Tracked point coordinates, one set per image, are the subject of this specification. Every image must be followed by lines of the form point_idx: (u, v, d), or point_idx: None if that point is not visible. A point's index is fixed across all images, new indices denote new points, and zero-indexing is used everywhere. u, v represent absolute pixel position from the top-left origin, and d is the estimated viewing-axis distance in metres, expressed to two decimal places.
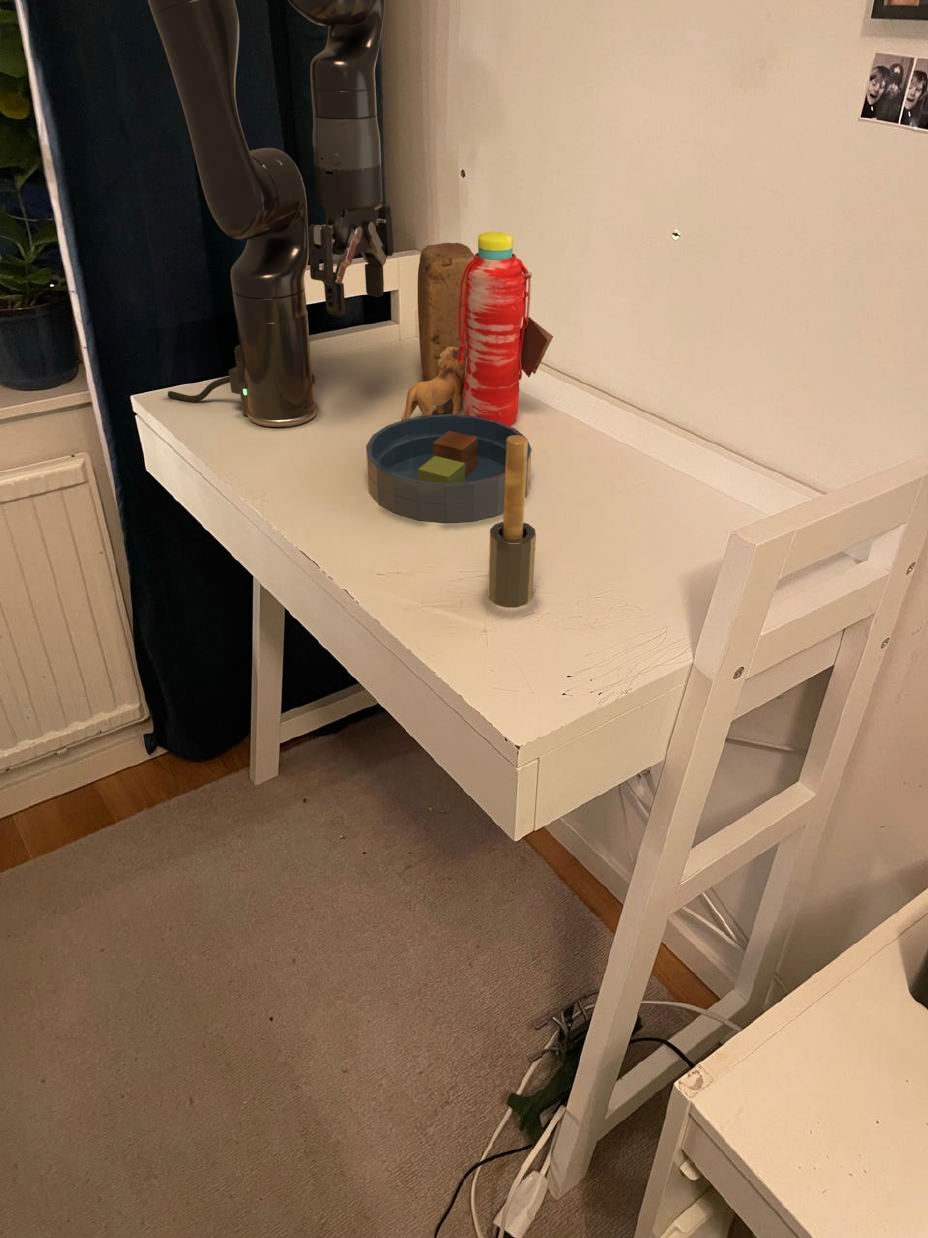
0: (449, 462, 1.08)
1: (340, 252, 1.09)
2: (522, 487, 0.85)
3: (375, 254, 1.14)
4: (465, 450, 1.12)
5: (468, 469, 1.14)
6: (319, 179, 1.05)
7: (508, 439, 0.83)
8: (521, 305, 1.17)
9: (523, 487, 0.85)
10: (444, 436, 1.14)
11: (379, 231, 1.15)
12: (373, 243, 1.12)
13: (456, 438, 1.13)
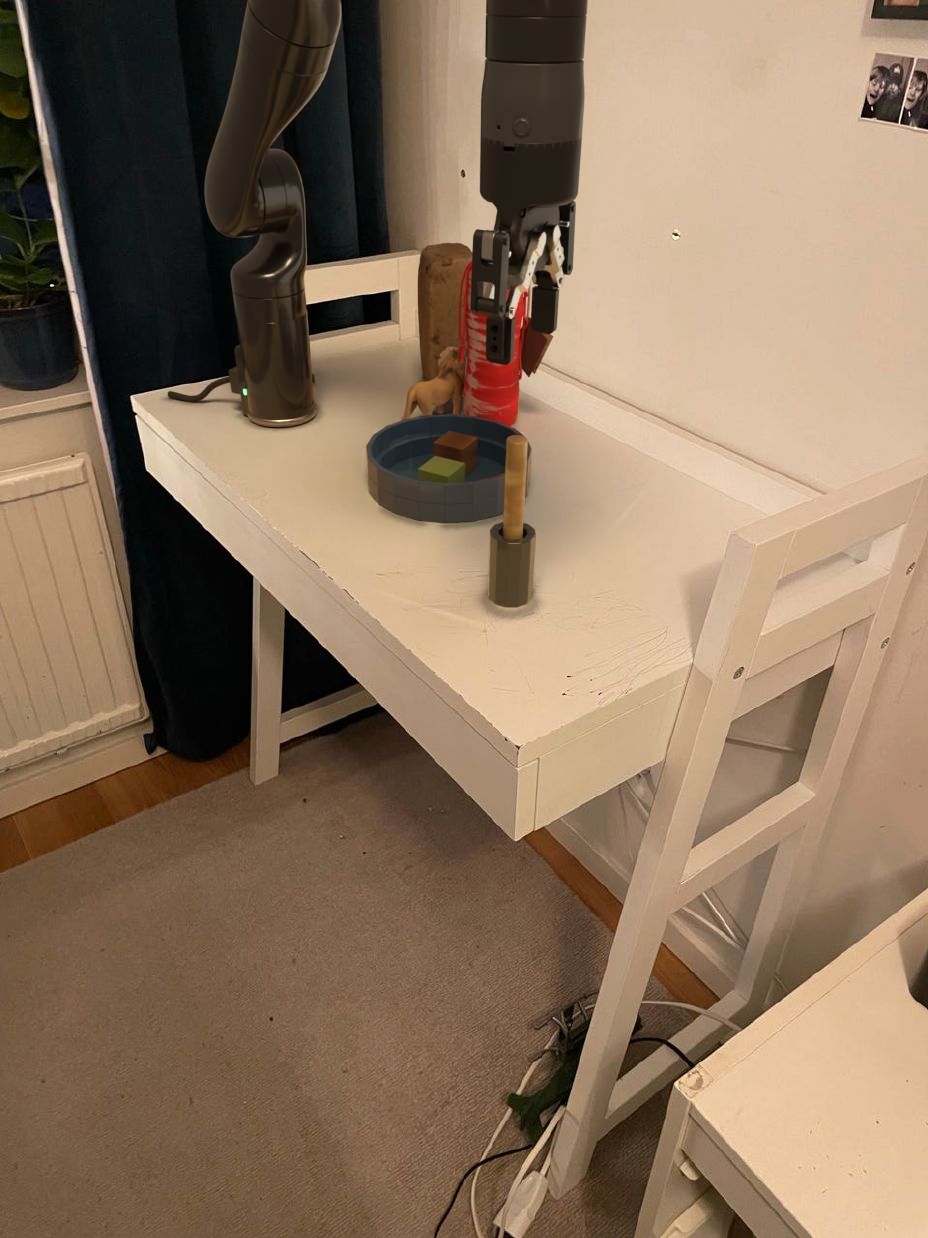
0: (449, 462, 1.08)
1: (511, 271, 0.73)
2: (522, 487, 0.85)
3: (552, 273, 0.77)
4: (465, 450, 1.12)
5: (468, 469, 1.14)
6: (490, 159, 0.68)
7: (508, 439, 0.83)
8: (521, 305, 1.17)
9: (523, 487, 0.85)
10: (444, 436, 1.14)
11: None
12: (555, 256, 0.75)
13: (456, 438, 1.13)
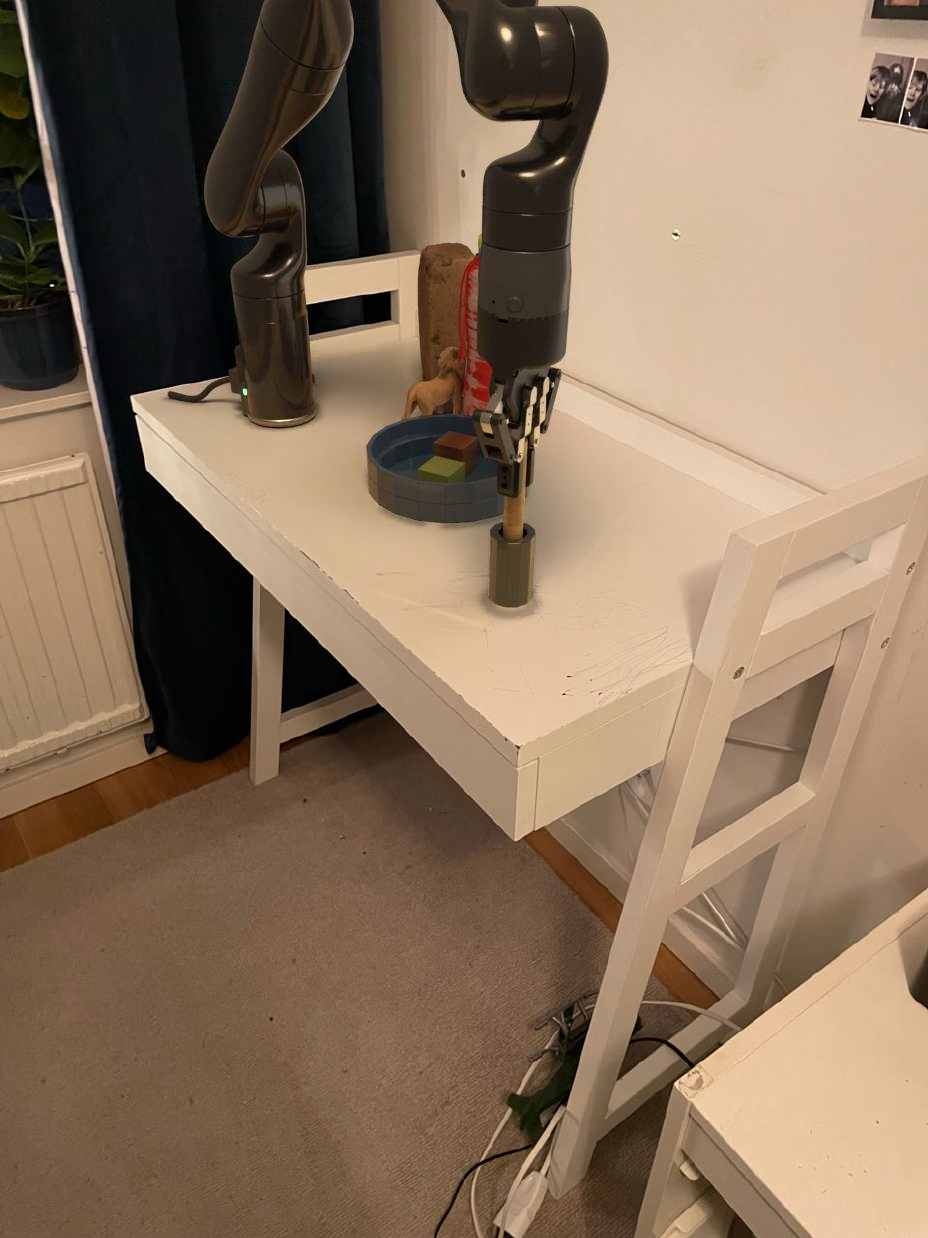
0: (449, 462, 1.08)
1: None
2: (522, 487, 0.85)
3: (532, 427, 0.83)
4: (465, 450, 1.12)
5: (468, 469, 1.14)
6: (486, 327, 0.75)
7: None
8: None
9: (523, 487, 0.85)
10: (444, 436, 1.14)
11: None
12: (540, 407, 0.81)
13: (456, 438, 1.13)
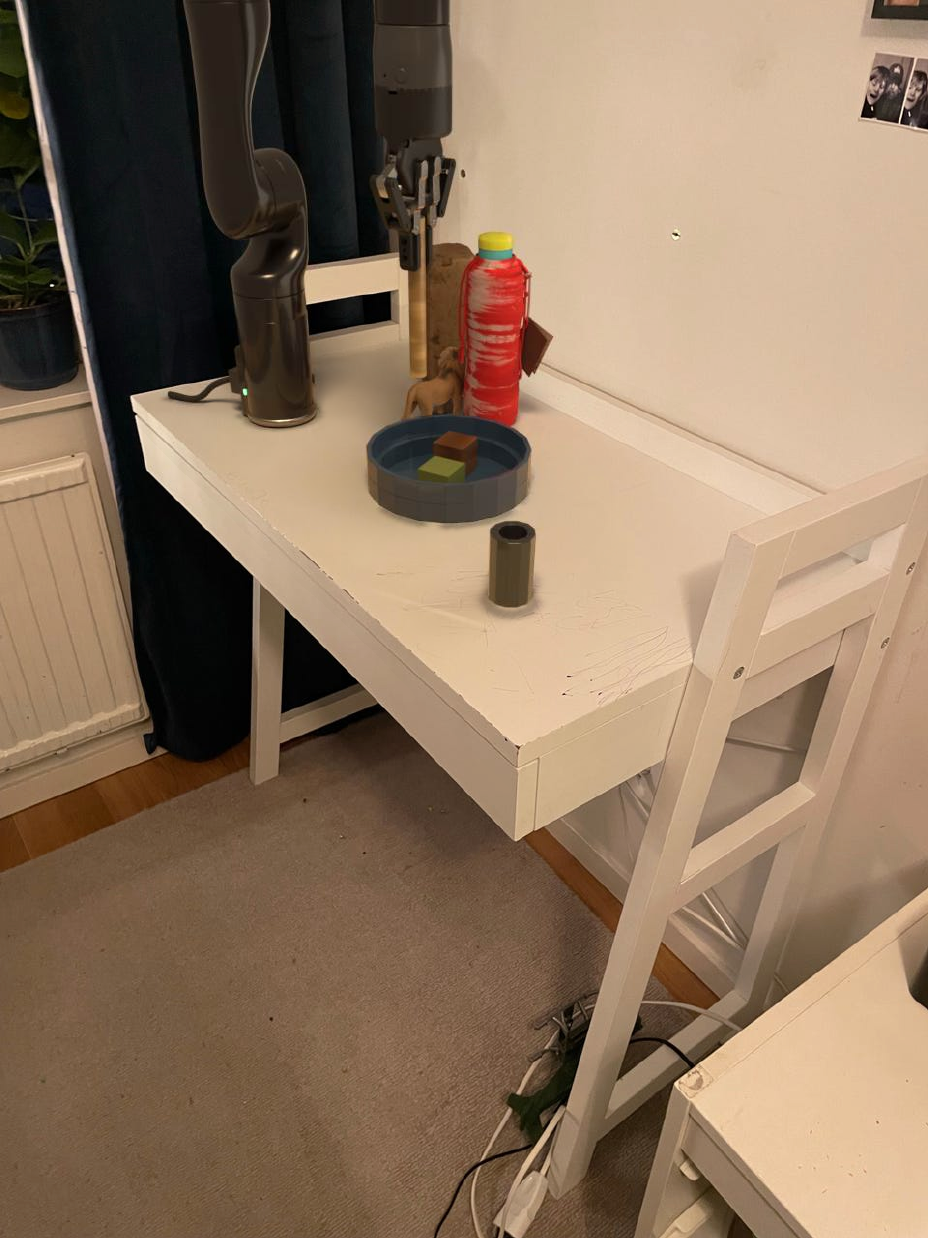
0: (449, 462, 1.08)
1: (401, 191, 0.93)
2: (422, 263, 0.98)
3: (428, 206, 0.96)
4: (465, 450, 1.12)
5: (468, 469, 1.14)
6: (380, 101, 0.88)
7: None
8: (521, 305, 1.17)
9: (423, 263, 0.98)
10: (444, 436, 1.14)
11: None
12: (433, 185, 0.94)
13: (456, 438, 1.13)
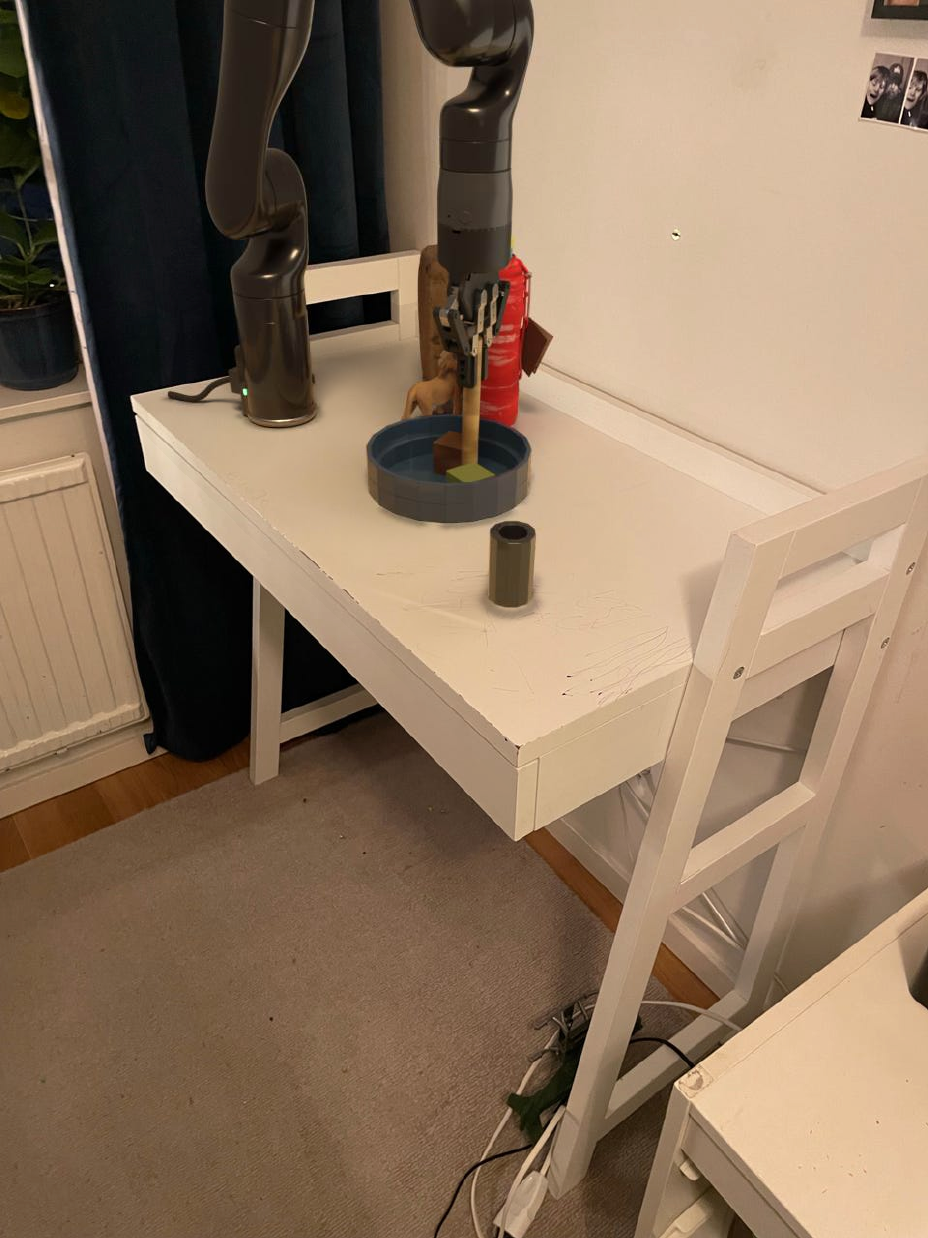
0: (481, 470, 1.06)
1: None
2: (478, 380, 1.02)
3: (485, 328, 1.00)
4: None
5: None
6: (443, 238, 0.92)
7: None
8: (521, 305, 1.17)
9: (479, 380, 1.03)
10: (444, 436, 1.14)
11: None
12: (490, 310, 0.99)
13: (456, 438, 1.13)
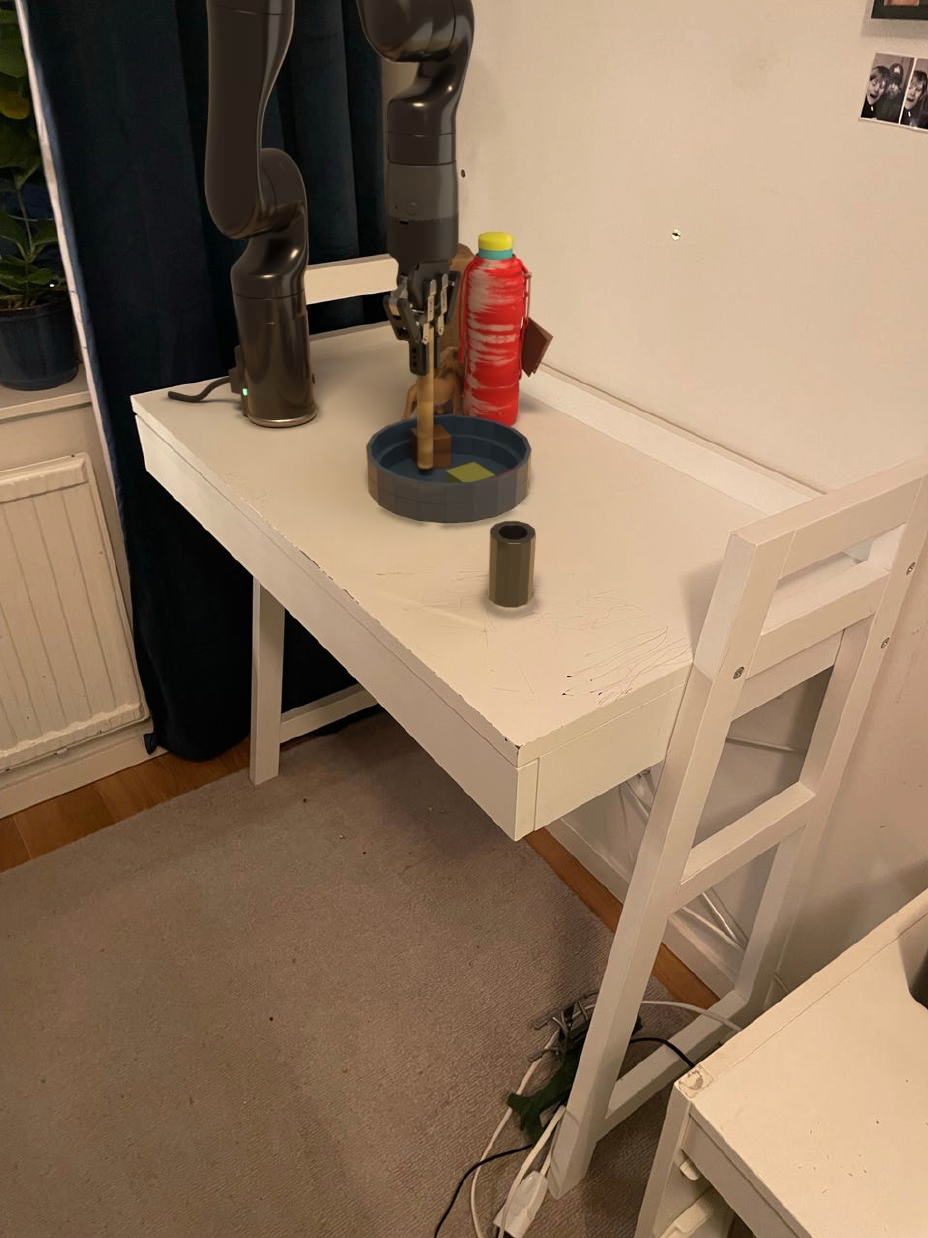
0: (481, 470, 1.06)
1: (411, 307, 1.00)
2: (430, 368, 1.05)
3: (436, 317, 1.03)
4: None
5: (433, 464, 1.15)
6: (392, 229, 0.95)
7: (418, 326, 1.03)
8: (521, 305, 1.17)
9: (431, 367, 1.06)
10: None
11: None
12: (441, 299, 1.02)
13: (433, 431, 1.15)
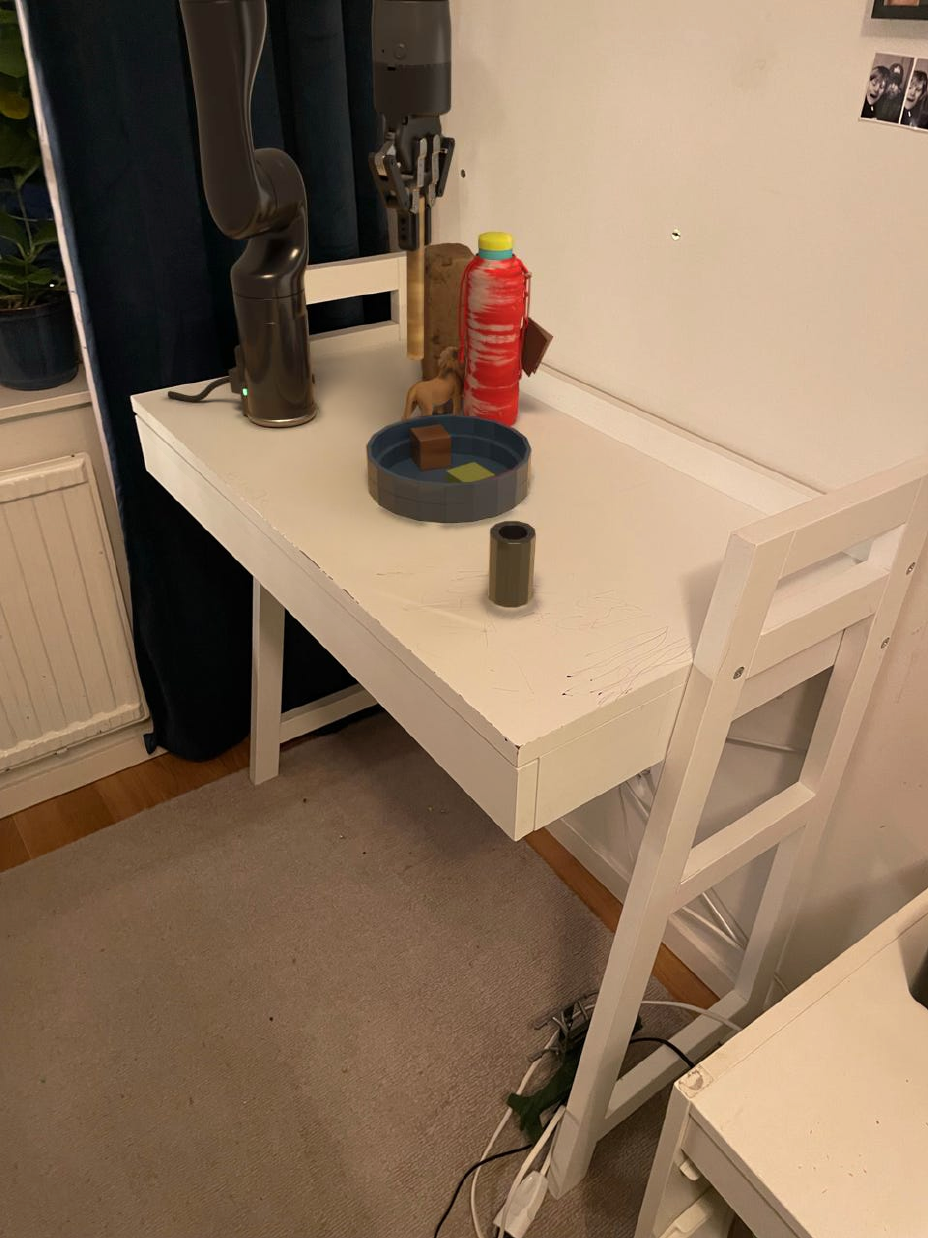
0: (481, 470, 1.06)
1: (400, 170, 0.92)
2: (421, 243, 0.98)
3: (427, 185, 0.95)
4: (427, 444, 1.13)
5: (433, 464, 1.15)
6: (378, 78, 0.88)
7: None
8: (521, 305, 1.17)
9: (422, 243, 0.98)
10: (427, 427, 1.16)
11: None
12: (432, 164, 0.94)
13: (433, 431, 1.15)
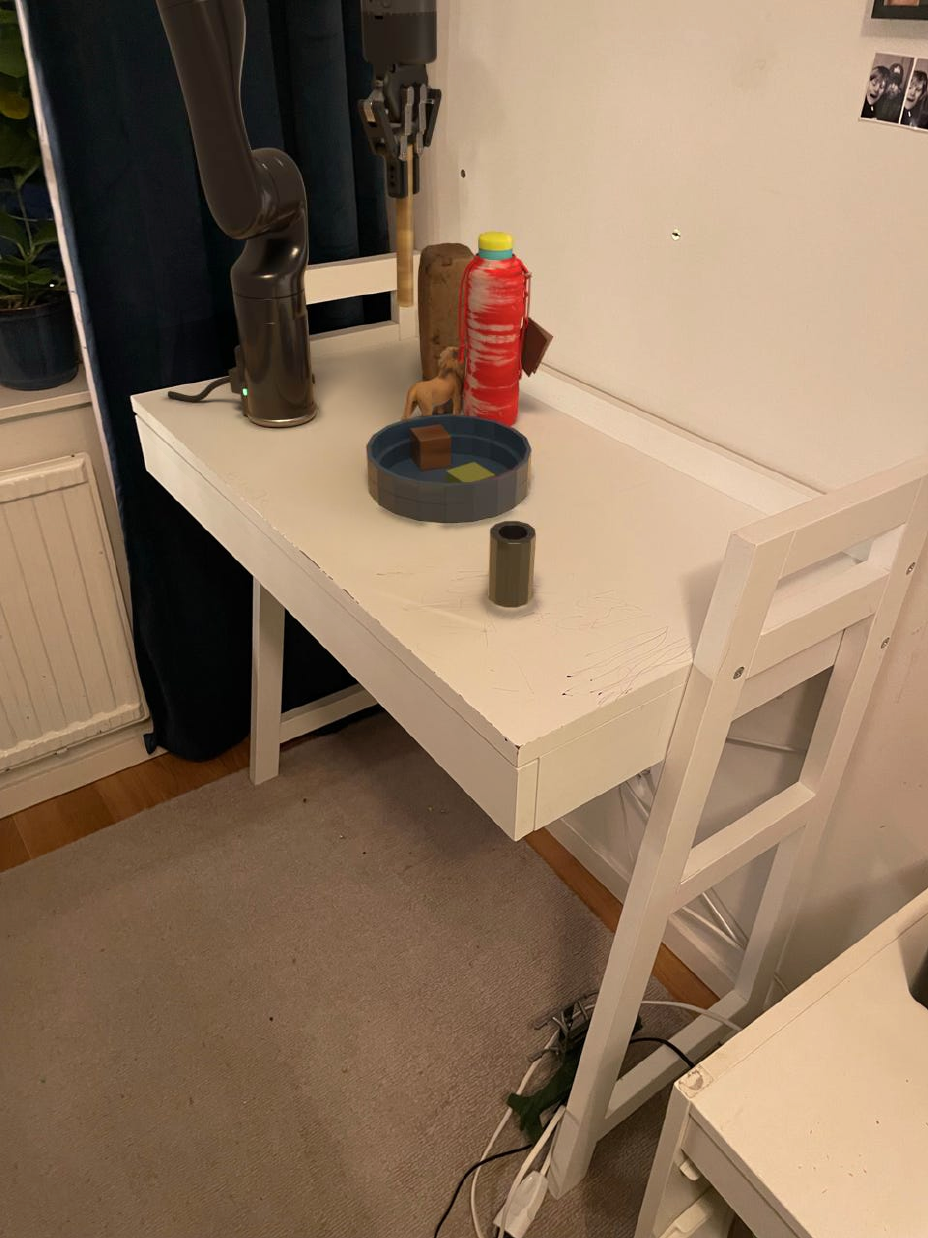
0: (481, 470, 1.06)
1: (388, 118, 0.96)
2: (409, 191, 1.02)
3: (415, 134, 0.99)
4: (427, 444, 1.13)
5: (433, 464, 1.15)
6: (367, 27, 0.92)
7: None
8: (521, 305, 1.17)
9: (410, 191, 1.02)
10: (427, 427, 1.16)
11: None
12: (419, 112, 0.98)
13: (433, 431, 1.15)
